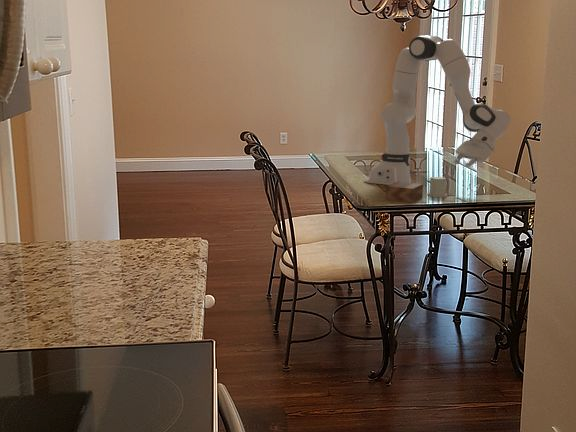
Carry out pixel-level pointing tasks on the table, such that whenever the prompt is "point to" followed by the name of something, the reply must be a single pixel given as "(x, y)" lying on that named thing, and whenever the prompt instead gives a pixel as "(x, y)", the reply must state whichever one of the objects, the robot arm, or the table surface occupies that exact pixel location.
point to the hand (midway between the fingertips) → (461, 164)
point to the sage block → (437, 187)
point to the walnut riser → (404, 191)
